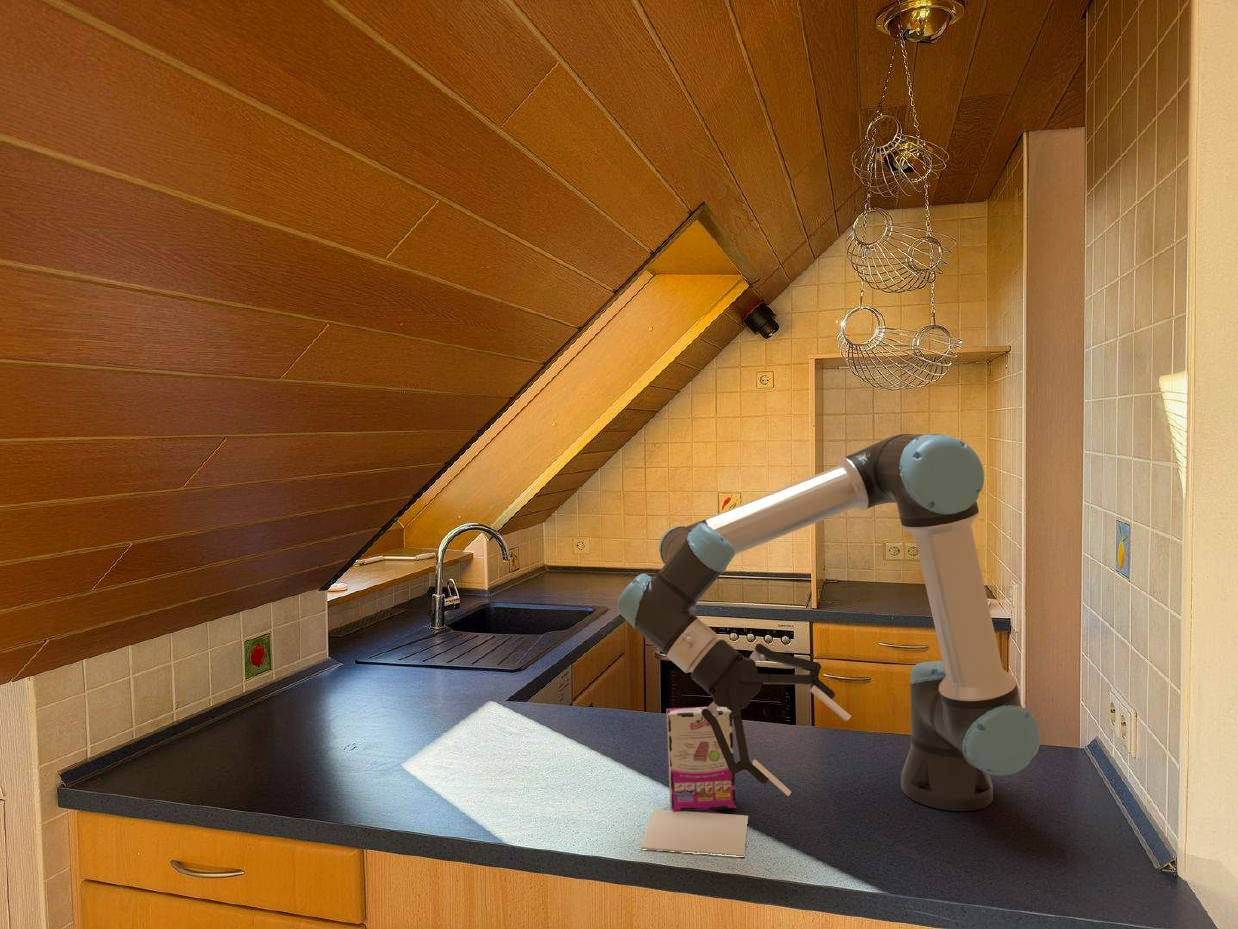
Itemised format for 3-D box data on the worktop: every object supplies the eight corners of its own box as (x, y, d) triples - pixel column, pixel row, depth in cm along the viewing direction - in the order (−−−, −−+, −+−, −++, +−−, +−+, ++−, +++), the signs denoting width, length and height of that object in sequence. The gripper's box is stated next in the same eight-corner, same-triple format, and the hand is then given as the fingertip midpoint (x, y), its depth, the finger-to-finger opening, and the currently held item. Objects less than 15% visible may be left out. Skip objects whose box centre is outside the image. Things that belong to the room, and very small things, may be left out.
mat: (653, 812, 144) (653, 809, 144) (748, 818, 141) (748, 815, 141) (640, 850, 131) (640, 847, 131) (744, 858, 128) (744, 855, 128)
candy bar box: (731, 799, 148) (728, 705, 149) (736, 809, 143) (733, 711, 144) (668, 802, 148) (665, 707, 149) (671, 812, 143) (668, 713, 144)
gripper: (648, 720, 121) (765, 828, 115) (758, 588, 125) (876, 686, 119) (651, 722, 128) (762, 824, 122) (756, 597, 132) (868, 690, 126)
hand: (819, 756), depth 120 cm, fingers open, 13 cm apart
